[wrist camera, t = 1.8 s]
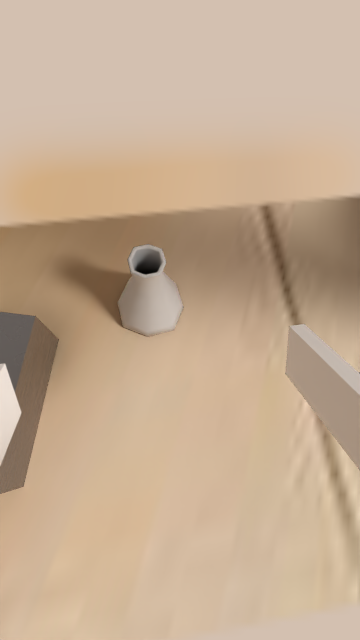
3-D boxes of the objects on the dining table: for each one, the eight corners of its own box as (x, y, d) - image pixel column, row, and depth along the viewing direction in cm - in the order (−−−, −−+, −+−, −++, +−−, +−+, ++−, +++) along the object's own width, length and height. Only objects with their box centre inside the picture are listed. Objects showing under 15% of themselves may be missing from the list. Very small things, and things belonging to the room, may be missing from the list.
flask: (121, 274, 39) (108, 220, 29) (184, 278, 39) (191, 226, 30) (114, 335, 36) (97, 297, 27) (181, 339, 37) (188, 303, 27)
